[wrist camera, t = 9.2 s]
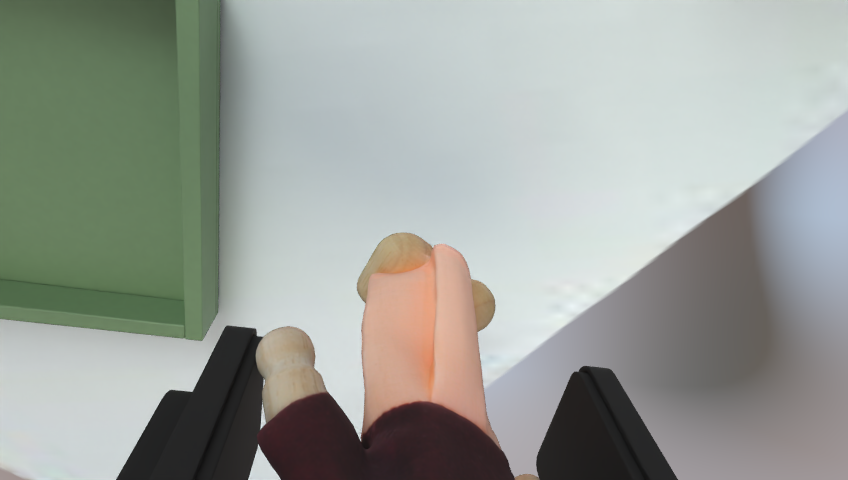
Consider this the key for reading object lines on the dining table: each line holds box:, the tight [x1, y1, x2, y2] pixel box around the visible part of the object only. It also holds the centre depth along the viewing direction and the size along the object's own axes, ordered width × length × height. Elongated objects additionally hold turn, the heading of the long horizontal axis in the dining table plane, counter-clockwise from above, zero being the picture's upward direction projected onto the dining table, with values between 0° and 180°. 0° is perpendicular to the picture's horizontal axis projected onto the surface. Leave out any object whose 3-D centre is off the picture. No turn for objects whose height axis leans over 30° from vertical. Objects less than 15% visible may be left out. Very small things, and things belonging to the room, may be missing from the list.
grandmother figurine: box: [256, 233, 540, 480], centre depth 9 cm, size 8×4×13 cm, turn 58°
